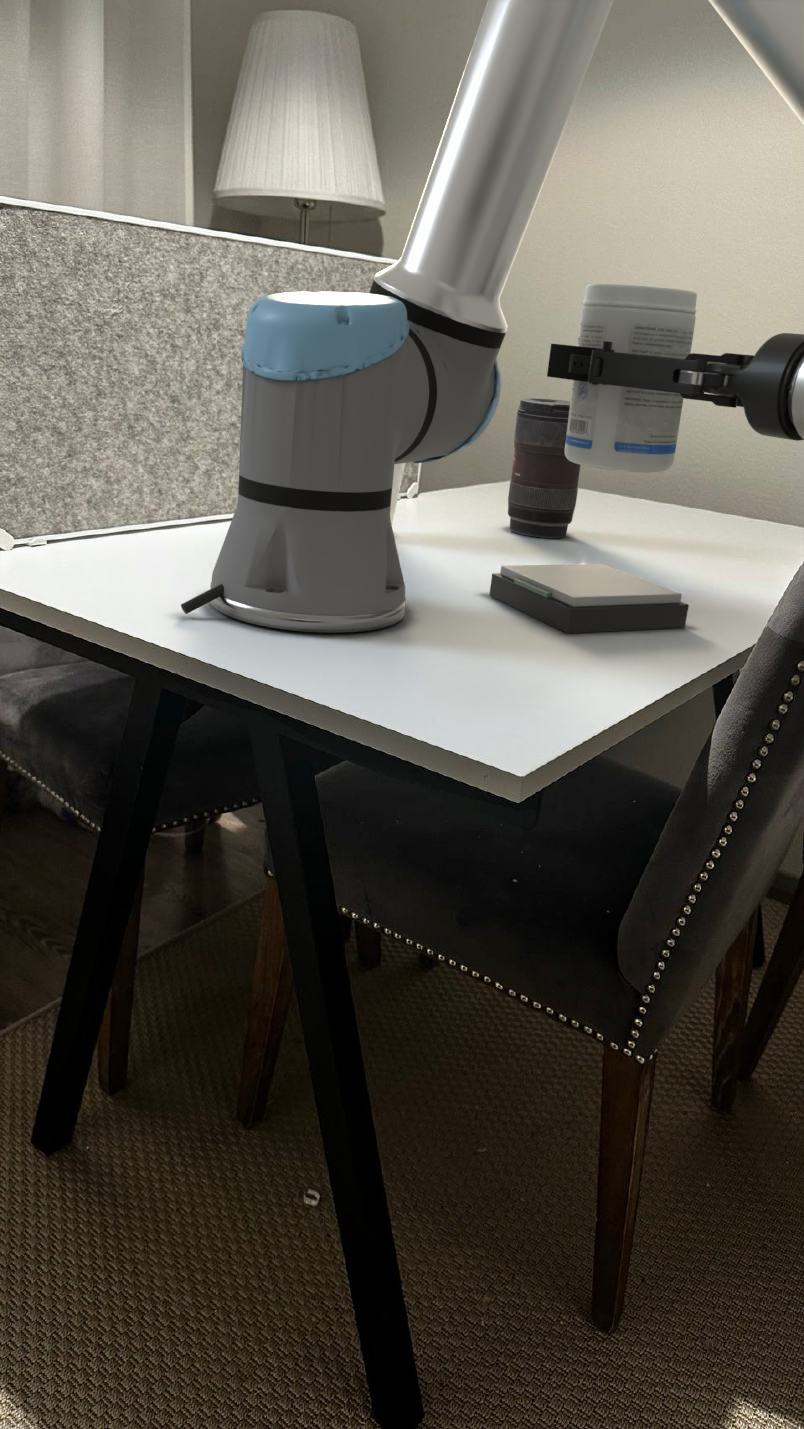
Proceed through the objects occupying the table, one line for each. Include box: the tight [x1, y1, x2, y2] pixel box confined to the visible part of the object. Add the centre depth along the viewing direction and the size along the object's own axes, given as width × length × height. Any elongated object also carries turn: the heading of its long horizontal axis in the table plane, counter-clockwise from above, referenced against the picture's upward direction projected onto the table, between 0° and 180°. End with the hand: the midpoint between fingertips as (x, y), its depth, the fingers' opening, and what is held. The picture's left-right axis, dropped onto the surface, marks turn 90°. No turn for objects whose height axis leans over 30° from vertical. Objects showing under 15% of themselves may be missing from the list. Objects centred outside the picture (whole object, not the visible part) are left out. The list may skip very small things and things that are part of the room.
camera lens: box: [507, 397, 581, 539], centre depth 126 cm, size 8×8×15 cm
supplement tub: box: [565, 283, 698, 474], centre depth 94 cm, size 10×10×15 cm
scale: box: [489, 563, 690, 634], centre depth 93 cm, size 12×12×3 cm
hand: (593, 363), depth 97 cm, fingers closed on supplement tub, 9 cm apart
